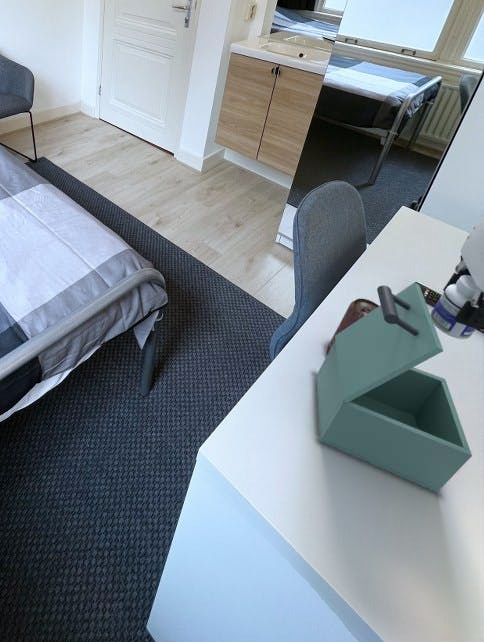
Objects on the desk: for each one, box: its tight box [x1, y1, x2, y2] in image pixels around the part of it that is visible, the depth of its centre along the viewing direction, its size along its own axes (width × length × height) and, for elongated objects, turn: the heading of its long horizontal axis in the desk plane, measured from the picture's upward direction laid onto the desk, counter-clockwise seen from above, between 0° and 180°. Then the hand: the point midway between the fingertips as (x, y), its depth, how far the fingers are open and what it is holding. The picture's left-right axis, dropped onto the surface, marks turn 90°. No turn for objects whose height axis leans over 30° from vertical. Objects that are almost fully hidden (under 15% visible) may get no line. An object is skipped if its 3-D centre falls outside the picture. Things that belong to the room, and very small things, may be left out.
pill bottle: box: [429, 275, 484, 340], centre depth 64 cm, size 5×5×9 cm
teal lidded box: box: [315, 342, 473, 493], centre depth 70 cm, size 17×13×11 cm
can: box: [326, 298, 380, 354], centre depth 81 cm, size 6×6×14 cm
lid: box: [335, 282, 444, 403], centre depth 65 cm, size 17×13×6 cm
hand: (461, 308), depth 64 cm, fingers closed on pill bottle, 5 cm apart
